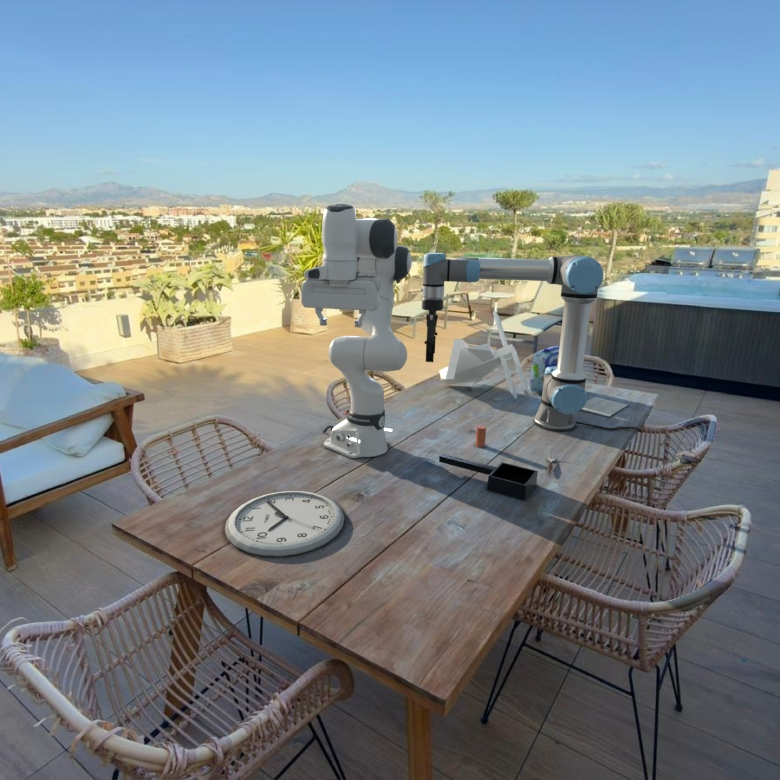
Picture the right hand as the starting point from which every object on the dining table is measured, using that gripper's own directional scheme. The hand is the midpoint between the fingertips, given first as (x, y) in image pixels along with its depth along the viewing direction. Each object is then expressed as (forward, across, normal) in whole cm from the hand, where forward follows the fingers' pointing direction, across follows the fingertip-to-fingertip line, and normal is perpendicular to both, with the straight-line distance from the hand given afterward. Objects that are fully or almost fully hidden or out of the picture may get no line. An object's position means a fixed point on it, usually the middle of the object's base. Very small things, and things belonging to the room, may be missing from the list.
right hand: (430, 357), depth 190 cm
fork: (+28, +26, +41) cm, 56 cm away
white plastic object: (+28, -50, +22) cm, 61 cm away
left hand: (-20, +52, -22) cm, 60 cm away
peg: (+28, +13, +19) cm, 36 cm away
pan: (+28, +39, +19) cm, 52 cm away
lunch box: (+28, -58, +55) cm, 85 cm away
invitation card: (+28, -38, +73) cm, 87 cm away
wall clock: (+28, +71, -33) cm, 83 cm away
